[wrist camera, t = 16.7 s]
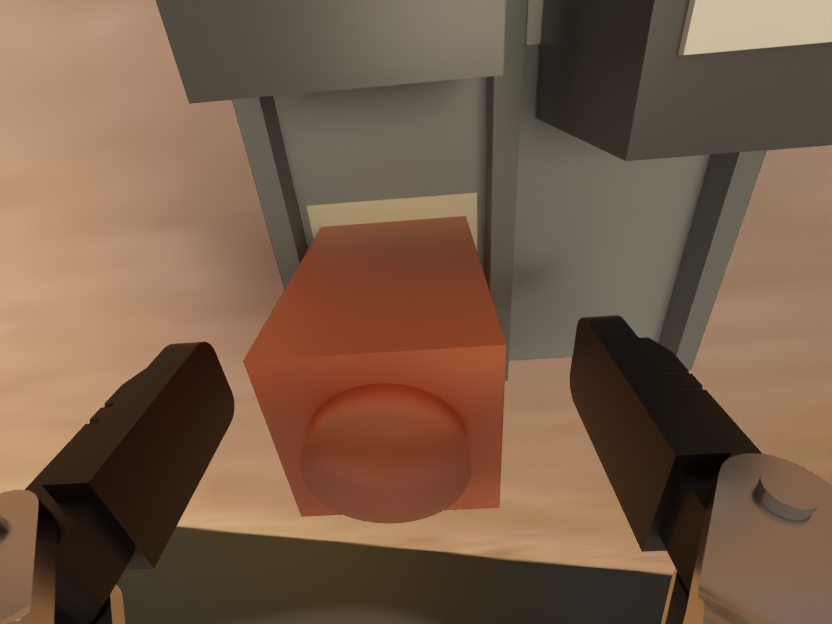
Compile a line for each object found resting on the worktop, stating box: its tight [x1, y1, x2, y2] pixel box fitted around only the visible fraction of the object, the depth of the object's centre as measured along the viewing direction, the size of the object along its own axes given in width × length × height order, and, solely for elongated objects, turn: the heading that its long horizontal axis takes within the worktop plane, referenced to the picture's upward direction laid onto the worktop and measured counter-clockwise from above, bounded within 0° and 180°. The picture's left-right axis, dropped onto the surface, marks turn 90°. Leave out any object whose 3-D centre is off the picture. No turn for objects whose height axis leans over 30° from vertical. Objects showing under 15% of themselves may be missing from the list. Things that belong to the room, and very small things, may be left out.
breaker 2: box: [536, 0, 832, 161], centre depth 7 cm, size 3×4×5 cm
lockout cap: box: [243, 216, 506, 523], centre depth 10 cm, size 4×4×7 cm
